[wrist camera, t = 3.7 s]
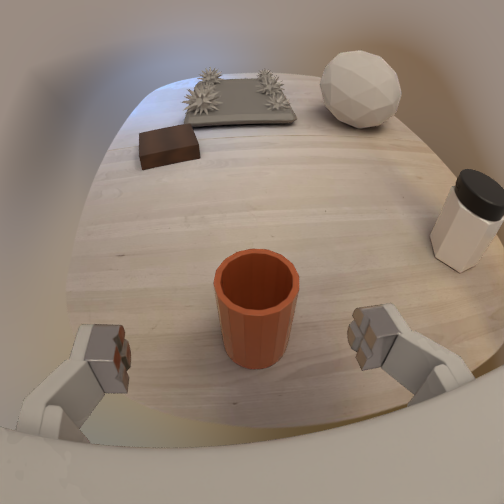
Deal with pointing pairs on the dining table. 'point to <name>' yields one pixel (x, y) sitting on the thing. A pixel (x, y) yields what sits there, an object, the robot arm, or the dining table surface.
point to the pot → (256, 306)
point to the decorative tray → (237, 101)
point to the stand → (168, 146)
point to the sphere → (360, 89)
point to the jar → (468, 220)
